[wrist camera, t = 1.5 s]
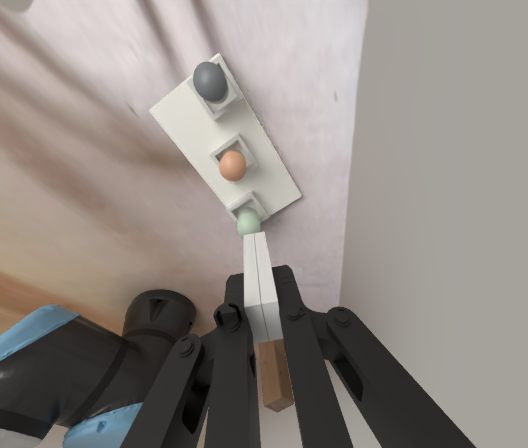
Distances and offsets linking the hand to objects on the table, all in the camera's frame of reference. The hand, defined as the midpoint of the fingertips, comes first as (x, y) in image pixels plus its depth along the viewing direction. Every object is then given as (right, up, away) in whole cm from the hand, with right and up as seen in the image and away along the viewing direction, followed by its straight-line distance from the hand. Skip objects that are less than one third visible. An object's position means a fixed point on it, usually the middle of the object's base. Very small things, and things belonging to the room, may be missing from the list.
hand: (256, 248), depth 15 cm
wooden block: (+3, -24, +40) cm, 46 cm away
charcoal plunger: (-6, +20, +12) cm, 24 cm away
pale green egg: (-2, +3, +20) cm, 21 cm away
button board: (-4, +13, +20) cm, 24 cm away
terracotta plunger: (-4, +11, +16) cm, 20 cm away
